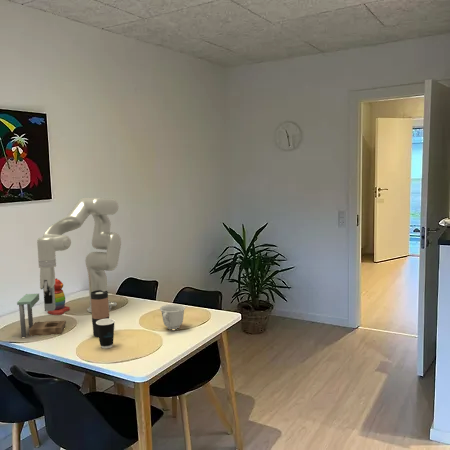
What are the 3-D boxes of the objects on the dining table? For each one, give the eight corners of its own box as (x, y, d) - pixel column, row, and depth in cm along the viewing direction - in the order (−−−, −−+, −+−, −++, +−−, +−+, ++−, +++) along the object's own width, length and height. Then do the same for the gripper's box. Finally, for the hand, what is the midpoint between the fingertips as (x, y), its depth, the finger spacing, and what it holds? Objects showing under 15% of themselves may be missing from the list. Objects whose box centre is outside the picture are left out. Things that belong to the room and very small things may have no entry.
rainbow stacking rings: (61, 315, 244) (59, 281, 242) (43, 314, 246) (41, 281, 244) (71, 309, 255) (69, 277, 253) (54, 308, 256) (51, 276, 254)
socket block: (65, 326, 226) (65, 320, 226) (61, 334, 216) (60, 327, 215) (35, 328, 224) (35, 322, 224) (29, 336, 214) (29, 329, 214)
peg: (55, 308, 221) (54, 283, 220) (53, 310, 217) (52, 285, 216) (46, 308, 220) (45, 283, 219) (44, 311, 217) (43, 285, 215)
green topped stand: (41, 326, 226) (39, 293, 224) (33, 337, 213) (31, 301, 211) (28, 327, 226) (25, 294, 224) (19, 338, 212) (17, 302, 210)
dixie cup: (109, 350, 194) (107, 325, 193) (93, 348, 197) (91, 323, 196) (120, 344, 202) (118, 319, 200) (104, 342, 204) (103, 317, 203)
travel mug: (94, 338, 208) (92, 295, 206) (91, 333, 215) (88, 291, 213) (112, 335, 212) (109, 292, 210) (108, 330, 219) (105, 289, 216)
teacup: (152, 333, 214) (151, 312, 213) (167, 323, 228) (167, 303, 227) (176, 336, 210) (175, 314, 209) (190, 325, 224) (189, 305, 222)
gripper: (43, 260, 224) (45, 298, 226) (34, 267, 208) (36, 307, 210) (59, 260, 225) (61, 297, 227) (51, 266, 209) (54, 306, 211)
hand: (49, 301), depth 218 cm, fingers closed on peg, 4 cm apart
